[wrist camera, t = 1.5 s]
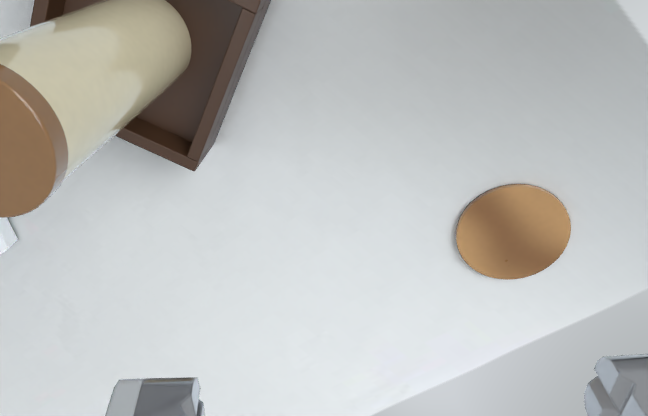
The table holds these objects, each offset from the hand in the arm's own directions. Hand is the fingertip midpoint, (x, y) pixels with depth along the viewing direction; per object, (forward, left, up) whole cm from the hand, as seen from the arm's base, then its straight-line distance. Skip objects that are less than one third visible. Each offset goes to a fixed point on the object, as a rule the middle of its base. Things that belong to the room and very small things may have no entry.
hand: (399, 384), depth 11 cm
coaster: (+8, +14, -27) cm, 31 cm away
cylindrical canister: (+6, -14, -25) cm, 29 cm away
